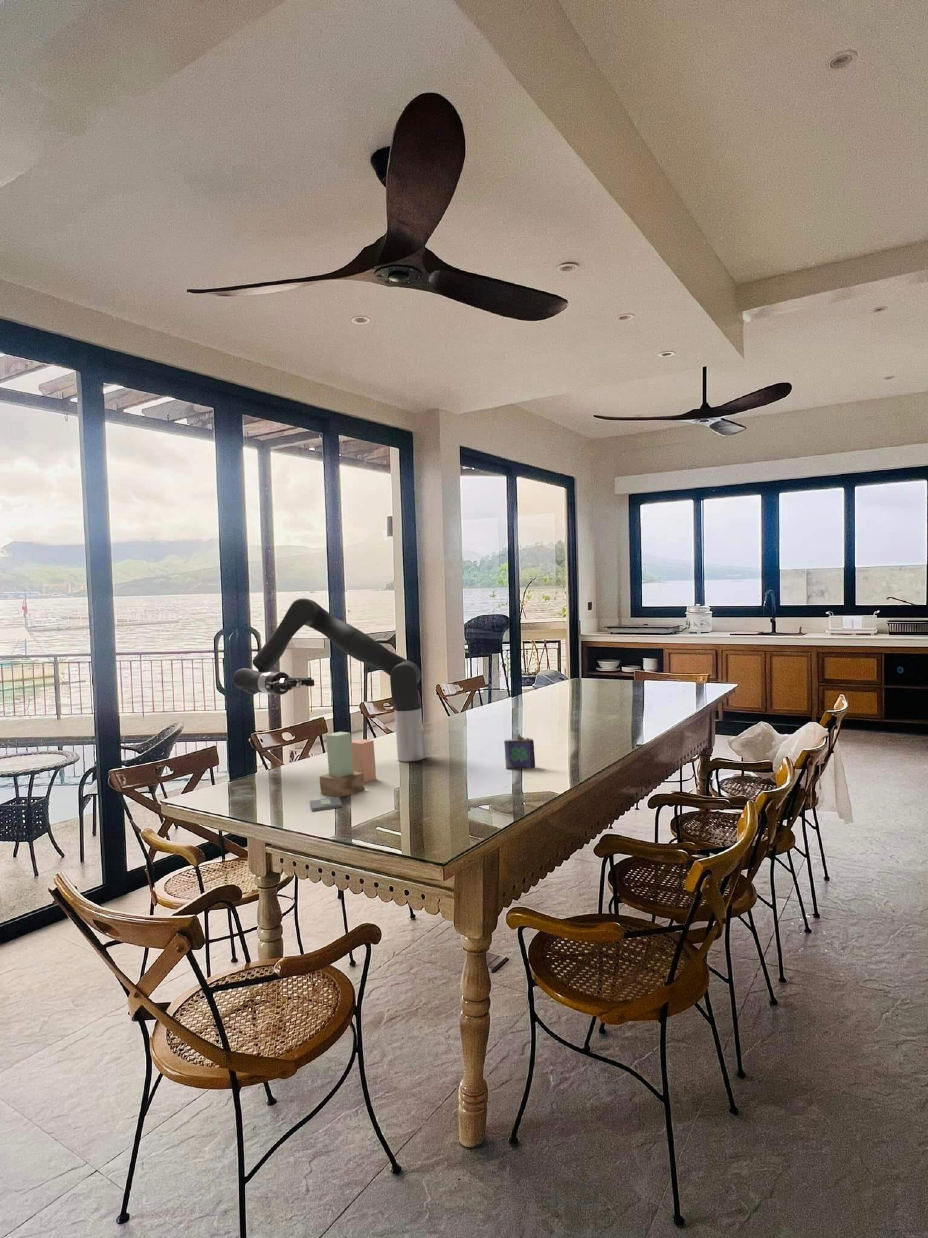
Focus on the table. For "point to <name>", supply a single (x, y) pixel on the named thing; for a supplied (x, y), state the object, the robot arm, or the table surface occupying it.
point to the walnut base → (342, 784)
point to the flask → (519, 753)
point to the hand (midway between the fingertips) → (302, 684)
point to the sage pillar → (339, 754)
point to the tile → (325, 804)
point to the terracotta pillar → (364, 758)
